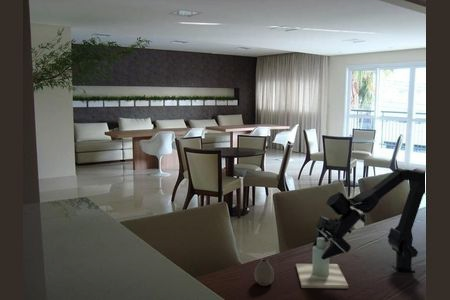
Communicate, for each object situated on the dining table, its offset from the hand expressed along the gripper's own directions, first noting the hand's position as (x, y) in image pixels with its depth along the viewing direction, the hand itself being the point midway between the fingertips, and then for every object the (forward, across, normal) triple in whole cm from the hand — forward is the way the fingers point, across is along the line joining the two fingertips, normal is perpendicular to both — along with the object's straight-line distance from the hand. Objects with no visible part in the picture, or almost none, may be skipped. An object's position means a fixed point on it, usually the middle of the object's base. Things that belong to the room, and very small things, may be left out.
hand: (317, 253), depth 148 cm
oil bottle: (+4, 0, +6) cm, 8 cm away
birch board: (+5, 0, +7) cm, 9 cm away
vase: (+21, +1, -8) cm, 22 cm away
